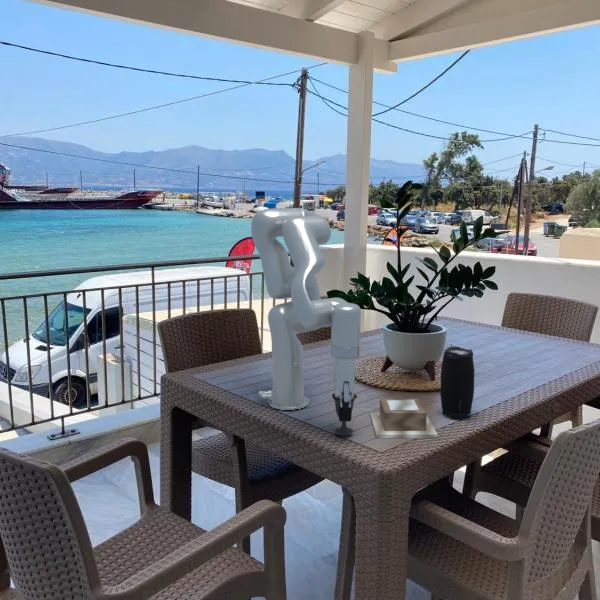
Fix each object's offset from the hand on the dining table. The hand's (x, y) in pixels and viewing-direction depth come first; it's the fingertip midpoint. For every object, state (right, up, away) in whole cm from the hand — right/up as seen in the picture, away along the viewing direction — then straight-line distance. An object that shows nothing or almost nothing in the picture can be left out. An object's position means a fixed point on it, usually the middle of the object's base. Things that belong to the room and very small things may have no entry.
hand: (344, 415), depth 152 cm
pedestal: (+17, -4, +6) cm, 18 cm away
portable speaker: (+34, -3, +14) cm, 36 cm away
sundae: (0, -5, +1) cm, 5 cm away
